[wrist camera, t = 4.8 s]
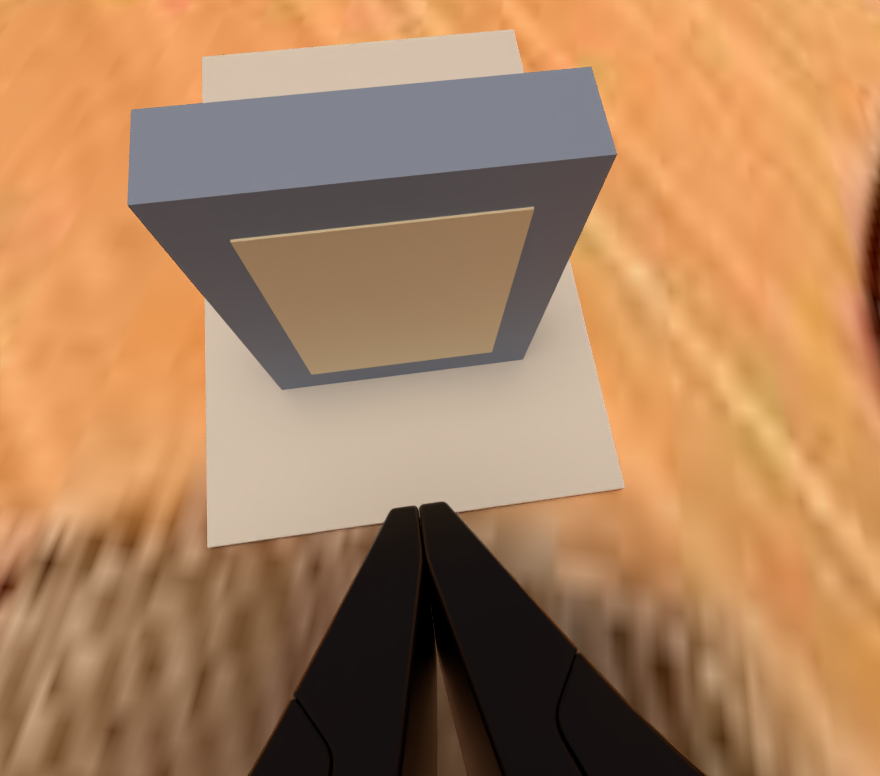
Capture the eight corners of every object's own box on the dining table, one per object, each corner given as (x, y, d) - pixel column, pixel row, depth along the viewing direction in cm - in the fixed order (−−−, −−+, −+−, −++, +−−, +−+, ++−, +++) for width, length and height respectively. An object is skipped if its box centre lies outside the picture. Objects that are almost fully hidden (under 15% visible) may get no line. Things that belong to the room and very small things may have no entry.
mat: (621, 489, 22) (624, 487, 21) (211, 547, 21) (207, 547, 20) (512, 36, 29) (513, 29, 29) (205, 63, 28) (202, 56, 28)
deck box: (523, 360, 23) (617, 157, 11) (282, 391, 22) (127, 208, 11) (512, 308, 24) (591, 66, 12) (278, 336, 23) (131, 109, 12)
